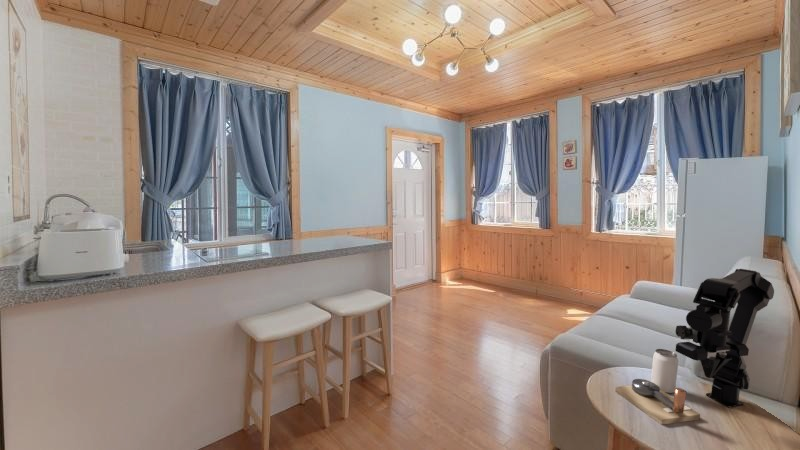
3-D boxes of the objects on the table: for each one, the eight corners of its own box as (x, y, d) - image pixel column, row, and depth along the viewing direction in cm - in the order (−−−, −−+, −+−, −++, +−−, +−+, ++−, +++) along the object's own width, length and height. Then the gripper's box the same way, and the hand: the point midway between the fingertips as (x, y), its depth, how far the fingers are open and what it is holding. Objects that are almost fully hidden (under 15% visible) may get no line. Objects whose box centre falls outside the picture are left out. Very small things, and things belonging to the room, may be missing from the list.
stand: (649, 387, 115) (649, 382, 115) (699, 419, 100) (700, 413, 100) (615, 391, 113) (615, 386, 112) (661, 424, 97) (662, 418, 97)
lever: (626, 385, 113) (628, 364, 112) (645, 384, 114) (647, 363, 113) (670, 417, 97) (673, 393, 97) (692, 415, 99) (695, 391, 98)
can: (679, 395, 111) (683, 358, 110) (656, 392, 113) (660, 356, 111) (668, 383, 118) (672, 349, 116) (646, 381, 119) (650, 347, 118)
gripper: (711, 312, 109) (705, 360, 111) (660, 316, 105) (655, 366, 107) (753, 327, 98) (746, 380, 100) (699, 331, 95) (692, 386, 96)
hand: (708, 377), depth 101 cm, fingers closed
